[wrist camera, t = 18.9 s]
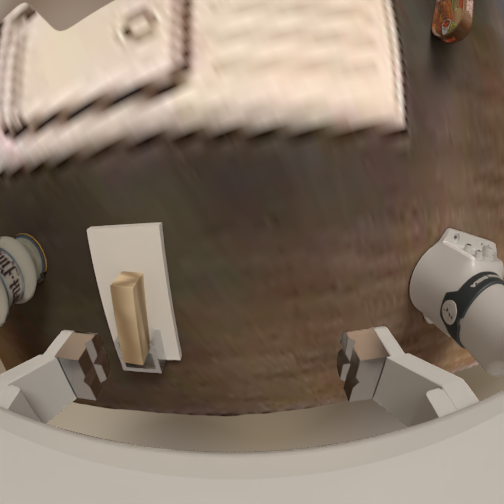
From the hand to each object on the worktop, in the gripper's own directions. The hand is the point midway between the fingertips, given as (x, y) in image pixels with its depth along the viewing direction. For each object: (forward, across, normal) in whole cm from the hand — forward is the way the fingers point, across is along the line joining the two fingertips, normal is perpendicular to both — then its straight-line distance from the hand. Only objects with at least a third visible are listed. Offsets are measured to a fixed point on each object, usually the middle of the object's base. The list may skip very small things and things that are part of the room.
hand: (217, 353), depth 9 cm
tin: (+33, -35, -33) cm, 59 cm away
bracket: (+33, +17, +16) cm, 40 cm away
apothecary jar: (+33, +39, +9) cm, 52 cm away
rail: (+32, +17, +18) cm, 40 cm away
